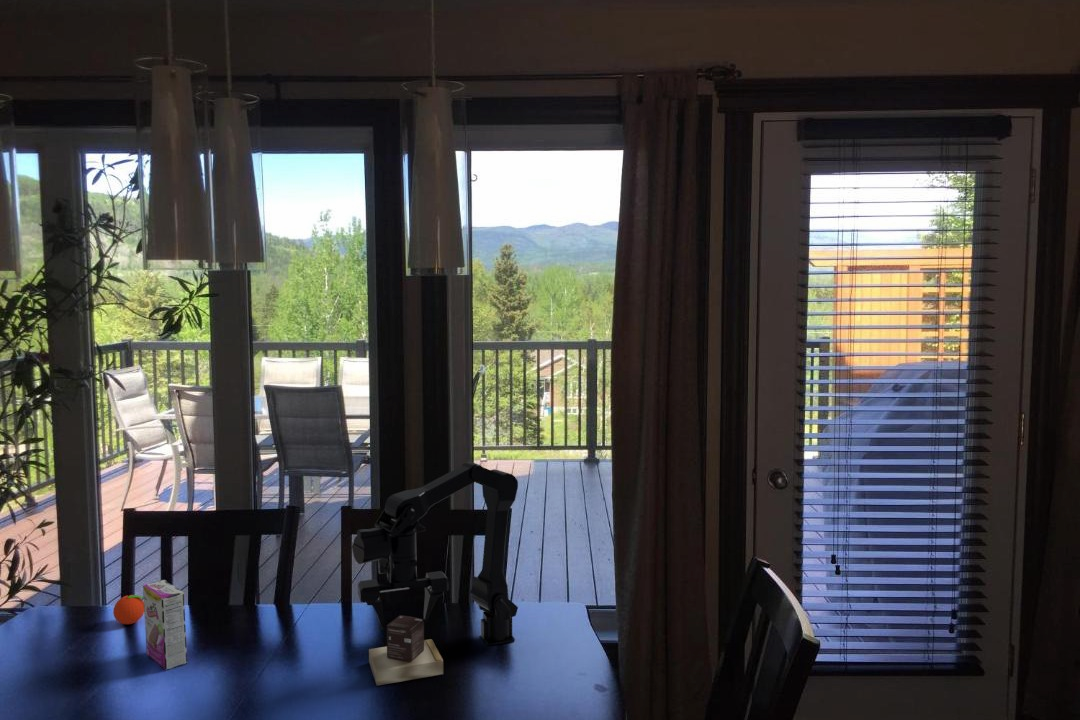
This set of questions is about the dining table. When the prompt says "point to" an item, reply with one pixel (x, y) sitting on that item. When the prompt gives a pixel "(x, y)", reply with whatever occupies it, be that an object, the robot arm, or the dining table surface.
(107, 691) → the dining table surface
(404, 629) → the box
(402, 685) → the dining table surface
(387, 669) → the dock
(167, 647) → the candy bar box
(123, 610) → the clementine
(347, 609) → the dining table surface
